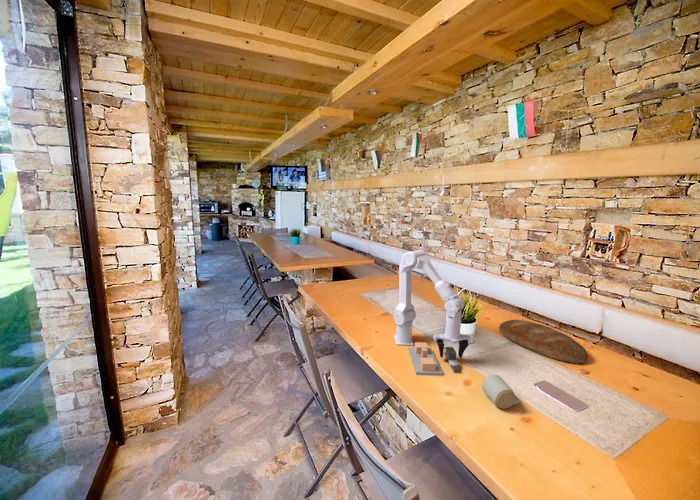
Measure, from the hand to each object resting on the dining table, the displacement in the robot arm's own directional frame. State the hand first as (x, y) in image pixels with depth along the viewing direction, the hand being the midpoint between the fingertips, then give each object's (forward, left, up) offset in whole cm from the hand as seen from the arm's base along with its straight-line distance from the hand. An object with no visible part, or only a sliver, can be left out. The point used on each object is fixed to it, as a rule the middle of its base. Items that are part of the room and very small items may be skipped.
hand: (450, 356), depth 122 cm
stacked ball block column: (0, 0, -2) cm, 2 cm away
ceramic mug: (+24, +10, -2) cm, 26 cm away
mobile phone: (+20, +31, -3) cm, 37 cm away
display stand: (+1, -11, -2) cm, 11 cm away
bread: (-17, +46, -2) cm, 49 cm away
